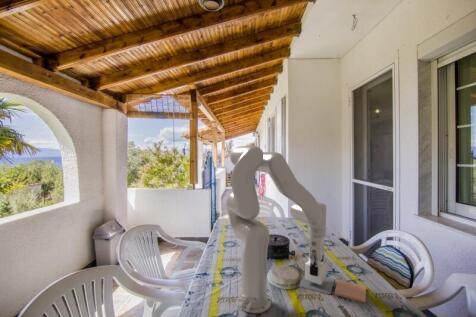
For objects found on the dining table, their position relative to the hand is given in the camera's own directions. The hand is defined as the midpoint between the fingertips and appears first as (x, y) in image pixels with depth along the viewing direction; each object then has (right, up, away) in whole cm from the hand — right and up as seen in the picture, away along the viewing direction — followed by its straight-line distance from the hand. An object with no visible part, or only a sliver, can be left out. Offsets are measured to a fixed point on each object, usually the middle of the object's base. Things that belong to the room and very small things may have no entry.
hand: (315, 270), depth 106 cm
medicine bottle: (0, -4, 0) cm, 4 cm away
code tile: (+1, -6, 0) cm, 6 cm away
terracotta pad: (+12, -6, -6) cm, 15 cm away
